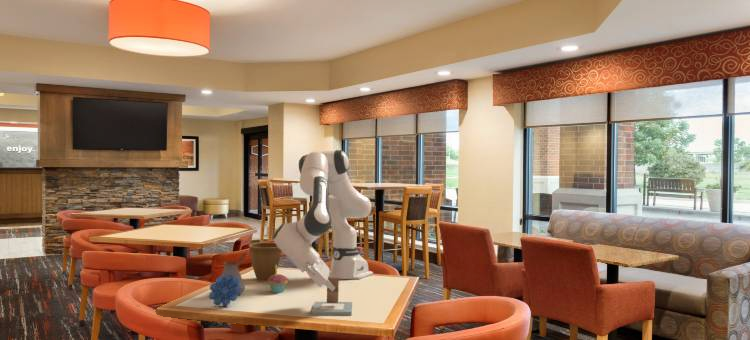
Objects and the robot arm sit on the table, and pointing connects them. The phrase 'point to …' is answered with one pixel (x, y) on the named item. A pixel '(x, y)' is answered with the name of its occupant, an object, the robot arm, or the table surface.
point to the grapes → (225, 290)
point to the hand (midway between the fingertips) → (334, 287)
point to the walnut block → (333, 295)
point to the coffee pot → (234, 271)
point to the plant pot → (264, 259)
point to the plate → (332, 308)
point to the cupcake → (277, 282)
